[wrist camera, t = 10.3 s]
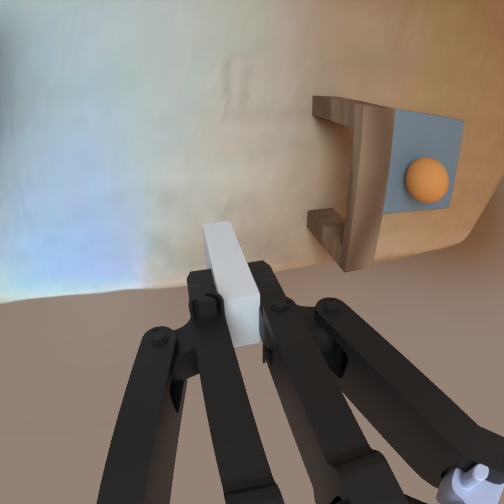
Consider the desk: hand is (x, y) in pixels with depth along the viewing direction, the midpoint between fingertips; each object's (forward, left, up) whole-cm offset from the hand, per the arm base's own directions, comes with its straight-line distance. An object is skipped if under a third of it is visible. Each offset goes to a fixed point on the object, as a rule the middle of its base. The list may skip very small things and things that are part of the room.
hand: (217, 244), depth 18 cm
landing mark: (+28, 0, -14) cm, 31 cm away
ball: (+26, -1, -11) cm, 28 cm away
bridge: (+13, 0, -14) cm, 19 cm away
